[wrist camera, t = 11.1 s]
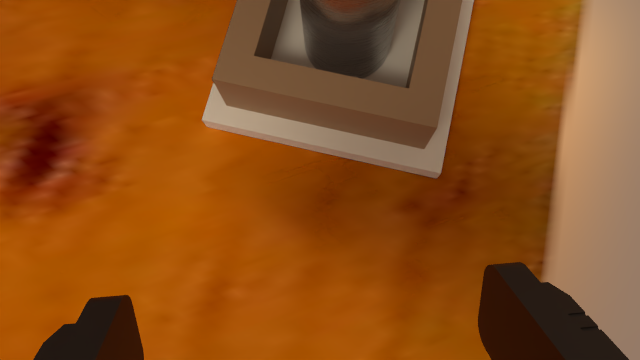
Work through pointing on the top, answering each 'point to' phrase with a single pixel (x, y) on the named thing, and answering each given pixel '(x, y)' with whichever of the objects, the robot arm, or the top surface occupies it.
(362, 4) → the axle
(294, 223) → the top surface
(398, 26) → the cradle
